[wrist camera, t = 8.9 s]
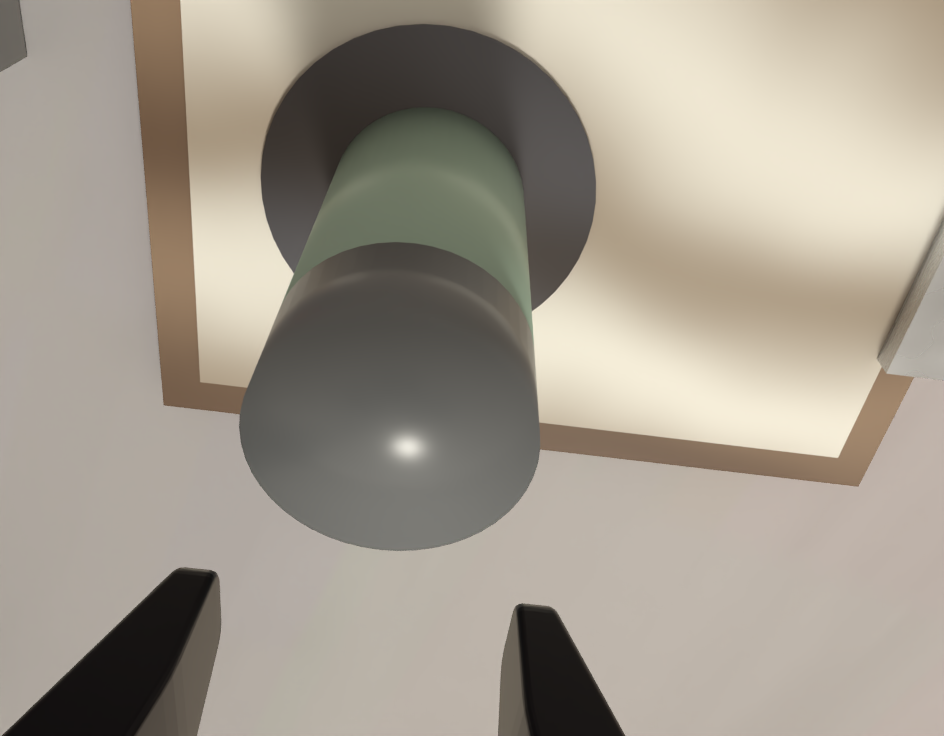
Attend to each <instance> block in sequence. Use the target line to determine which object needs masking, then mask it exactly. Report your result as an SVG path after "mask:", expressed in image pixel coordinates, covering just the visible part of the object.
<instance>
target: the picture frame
mask: <svg viewBox="0 0 944 736" xmlns="http://www.w3.org/2000/svg"><path fill="white" fill-rule="evenodd" d="M130 1H131V13H132V26H133V38H134V50H135V62H136V74H137V86H138V98H139V111H140V123H141V135H142V147H143V159H144V171H145V183H146V196H147V208H148V220H149V232H150V244H151V256H152V268H153V281H154V293H155V305H156V317H157V329H158V341H159V353H160V365H161V378H162V390H163V402H164V405H166V406H175V407H184V408H192V409H201V410H209V411H218V412H226V413H235V414H240V410H241V406H242V402H243V397H244V395H245V392H246V390H247V387H248V385H249V382H250V380H251V378H252V375H253V373H254V370H255V368H256V365H257V363H258V360H259V358H260V355H261V353H262V351H263V348H264V346H265V343H266V341H267V338H268V336H269V333H270V331H271V329H272V326H273V324H274V321H275V319H276V316H277V314H278V311H279V309H280V307H281V304H282V302H283V299H284V297H285V294H286V292H287V289H288V287H289V284H290V282H291V280H292V277H293V275H294V272H295V270H296V267H297V265H298V262H299V260H300V258H301V255H302V253H303V250H304V248H305V245H306V243H307V240H308V238H309V235H310V233H311V231H312V228H313V226H314V223H315V221H316V218H317V216H318V213H319V211H320V209H321V206H322V204H323V201H324V199H325V196H326V194H327V191H328V189H329V186H330V184H331V182H332V179H333V177H334V174H335V172H336V169H337V167H338V164H339V162H340V160H341V157H342V155H343V154H344V152H345V150H346V149H347V147H348V145H349V144H350V143H351V142H352V140H353V139H354V138H355V137H356V136H357V135H358V134H359V133H360V132H361V131H362V130H363V129H364V128H365V127H367V126H368V125H370V124H371V123H373V122H374V121H376V120H378V119H380V118H382V117H384V116H386V115H388V114H391V113H394V112H397V111H400V110H405V109H410V108H421V107H429V108H440V109H445V110H450V111H454V112H457V113H460V114H463V115H465V116H467V117H469V118H471V119H473V120H475V121H477V122H479V123H480V124H482V125H483V126H485V127H486V128H488V129H489V130H490V131H491V132H492V133H493V134H494V135H496V136H497V137H498V138H499V140H500V141H501V142H502V143H503V144H504V145H505V146H506V148H507V149H508V151H509V152H510V154H511V155H512V157H513V159H514V161H515V163H516V165H517V167H518V170H519V173H520V176H521V179H522V185H523V190H524V204H525V219H526V234H527V248H528V263H529V278H530V293H531V308H532V323H533V337H534V352H535V367H536V382H537V397H538V412H539V426H540V449H542V450H551V451H559V452H568V453H576V454H585V455H593V456H602V457H610V458H619V459H627V460H636V461H644V462H653V463H662V464H670V465H679V466H687V467H696V468H704V469H713V470H721V471H730V472H738V473H747V474H755V475H764V476H773V477H781V478H790V479H798V480H807V481H815V482H824V483H832V484H841V485H849V486H859V484H860V482H861V480H862V478H863V476H864V474H865V472H866V470H867V468H868V466H869V464H870V463H871V461H872V459H873V457H874V455H875V453H876V451H877V449H878V447H879V445H880V443H881V441H882V439H883V437H884V435H885V433H886V431H887V429H888V427H889V425H890V423H891V421H892V419H893V418H894V416H895V414H896V412H897V410H898V408H899V406H900V404H901V402H902V400H903V398H904V396H905V394H906V392H907V390H908V388H909V386H910V384H911V382H912V380H913V378H914V377H918V378H926V379H934V380H942V381H944V0H130Z"/></svg>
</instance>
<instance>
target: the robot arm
mask: <svg viewBox="0 0 944 736" xmlns="http://www.w3.org/2000/svg"><path fill="white" fill-rule="evenodd" d="M220 633H221V605H220V582H219V577H218V575H217V573H216V572H214V571H212V570H204V569H195V568H186V567H184V568H179V569H176V570H174V571H173V572H172V573H171V574H170V575H169V576H168V577H167V578H166V579H164V580H163V581H162V582H161V583H160V584H159V585H158V586H157V587H156V588H155V589H154V590H153V591H152V592H151V593H150V594H149V595H148V596H147V597H146V598H145V599H144V600H143V601H142V602H141V603H140V604H138V605H137V606H136V607H135V608H134V609H133V610H132V611H131V612H130V613H129V614H128V615H127V616H126V617H125V618H124V619H123V620H122V621H121V622H120V623H119V624H118V625H117V626H116V627H115V628H113V629H112V630H111V631H110V632H109V633H108V634H107V635H106V636H105V637H104V638H103V639H102V640H101V641H100V642H99V643H98V644H97V645H96V646H95V647H94V648H93V649H92V650H91V651H90V652H89V653H87V654H86V655H85V656H84V657H83V658H82V659H81V660H80V661H79V662H78V663H77V664H76V665H75V666H74V667H73V668H72V669H71V670H70V671H69V672H68V673H67V674H66V675H65V676H64V677H63V678H61V679H60V680H59V681H58V682H57V683H56V684H55V685H54V686H53V687H52V688H51V689H50V690H49V691H48V692H47V693H46V694H45V695H44V696H43V697H42V698H41V699H40V700H39V701H38V702H36V703H35V704H34V705H33V706H32V707H31V708H30V709H29V710H28V711H27V712H26V713H25V714H24V715H23V716H22V717H21V718H20V719H19V720H18V721H17V722H16V723H15V724H14V725H13V726H12V727H10V728H9V729H8V730H7V731H6V732H5V733H4V734H3V735H2V736H197V733H198V728H199V724H200V720H201V716H202V712H203V707H204V703H205V699H206V695H207V691H208V687H209V682H210V678H211V674H212V670H213V666H214V661H215V657H216V653H217V649H218V644H219V639H220ZM498 736H625V734H624V732H623V731H622V729H621V727H620V725H619V723H618V722H617V720H616V718H615V716H614V714H613V713H612V711H611V709H610V707H609V705H608V704H607V702H606V700H605V698H604V696H603V694H602V693H601V691H600V689H599V687H598V685H597V684H596V682H595V680H594V678H593V676H592V675H591V673H590V671H589V669H588V667H587V666H586V664H585V662H584V660H583V658H582V656H581V655H580V653H579V651H578V649H577V647H576V646H575V644H574V642H573V640H572V638H571V637H570V635H569V633H568V631H567V629H566V627H565V626H564V624H563V622H562V620H561V618H560V617H559V615H558V613H557V612H556V611H555V610H554V609H553V608H552V607H549V606H541V605H532V604H523V603H522V604H518V605H517V606H516V607H515V608H514V611H513V614H512V618H511V623H510V627H509V631H508V635H507V639H506V644H505V648H504V652H503V658H502V666H501V682H500V704H499V726H498Z"/></svg>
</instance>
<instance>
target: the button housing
mask: <svg viewBox="0 0 944 736" xmlns="http://www.w3.org/2000/svg"><path fill="white" fill-rule="evenodd" d="M25 57H27V53H26V46H25V40H24V33H23V26H22V20H21V13H20V6H19V0H0V72H1V71H3V70H5V69H6V68H8V67H10V66H11V65H13V64H15V63H17V62H18V61H20V60H22V59H23V58H25Z"/></svg>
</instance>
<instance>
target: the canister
mask: <svg viewBox="0 0 944 736" xmlns="http://www.w3.org/2000/svg"><path fill="white" fill-rule="evenodd" d="M239 429H240V438H241V445H242V448H243V452H244V455H245V458H246V461H247V463H248V465H249V467H250V469H251V472H252V473H253V475H254V477H255V478H256V480H257V481H258V483H259V484H260V486H261V487H262V488H263V490H264V491H265V492H266V493H267V494H268V496H269V497H270V498H271V499H272V500H273V501H274V502H275V503H276V504H277V505H278V506H279V507H281V508H282V509H283V510H284V511H285V512H286V513H288V514H289V515H291V516H292V517H293V518H295V519H296V520H297V521H299V522H301V523H302V524H304V525H306V526H307V527H309V528H311V529H313V530H315V531H317V532H319V533H321V534H323V535H325V536H328V537H330V538H333V539H336V540H339V541H342V542H345V543H348V544H352V545H356V546H360V547H366V548H372V549H379V550H393V551H407V550H421V549H429V548H435V547H440V546H444V545H448V544H452V543H455V542H458V541H461V540H463V539H466V538H468V537H471V536H473V535H475V534H477V533H479V532H481V531H483V530H485V529H486V528H488V527H489V526H491V525H493V524H494V523H496V522H497V521H498V520H499V519H501V518H502V517H503V516H504V515H506V514H507V513H508V512H509V511H510V510H511V509H512V508H513V507H514V506H515V505H516V503H517V502H518V501H519V500H520V498H521V497H522V496H523V494H524V493H525V491H526V490H527V488H528V486H529V484H530V482H531V480H532V478H533V476H534V473H535V470H536V467H537V464H538V460H539V452H540V426H539V412H538V397H537V382H536V367H535V352H534V337H533V323H532V308H531V293H530V278H529V263H528V248H527V234H526V219H525V204H524V190H523V185H522V179H521V176H520V173H519V170H518V167H517V165H516V163H515V161H514V159H513V157H512V155H511V154H510V152H509V151H508V149H507V148H506V146H505V145H504V144H503V143H502V142H501V141H500V140H499V138H498V137H497V136H496V135H494V134H493V133H492V132H491V131H490V130H489V129H488V128H486V127H485V126H483V125H482V124H480V123H479V122H477V121H475V120H473V119H471V118H469V117H467V116H465V115H463V114H460V113H457V112H454V111H450V110H445V109H440V108H429V107H421V108H410V109H405V110H400V111H397V112H394V113H391V114H388V115H386V116H384V117H382V118H380V119H378V120H376V121H374V122H373V123H371V124H370V125H368V126H367V127H365V128H364V129H363V130H362V131H361V132H360V133H359V134H358V135H357V136H356V137H355V138H354V139H353V140H352V142H351V143H350V144H349V145H348V147H347V149H346V150H345V152H344V154H343V155H342V157H341V160H340V162H339V164H338V167H337V169H336V172H335V174H334V177H333V179H332V182H331V184H330V186H329V189H328V191H327V194H326V196H325V199H324V201H323V204H322V206H321V209H320V211H319V213H318V216H317V218H316V221H315V223H314V226H313V228H312V231H311V233H310V235H309V238H308V240H307V243H306V245H305V248H304V250H303V253H302V255H301V258H300V260H299V262H298V265H297V267H296V270H295V272H294V275H293V277H292V280H291V282H290V284H289V287H288V289H287V292H286V294H285V297H284V299H283V302H282V304H281V307H280V309H279V311H278V314H277V316H276V319H275V321H274V324H273V326H272V329H271V331H270V333H269V336H268V338H267V341H266V343H265V346H264V348H263V351H262V353H261V355H260V358H259V360H258V363H257V365H256V368H255V370H254V373H253V375H252V378H251V380H250V382H249V385H248V387H247V390H246V392H245V395H244V397H243V402H242V406H241V410H240V424H239Z"/></svg>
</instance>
